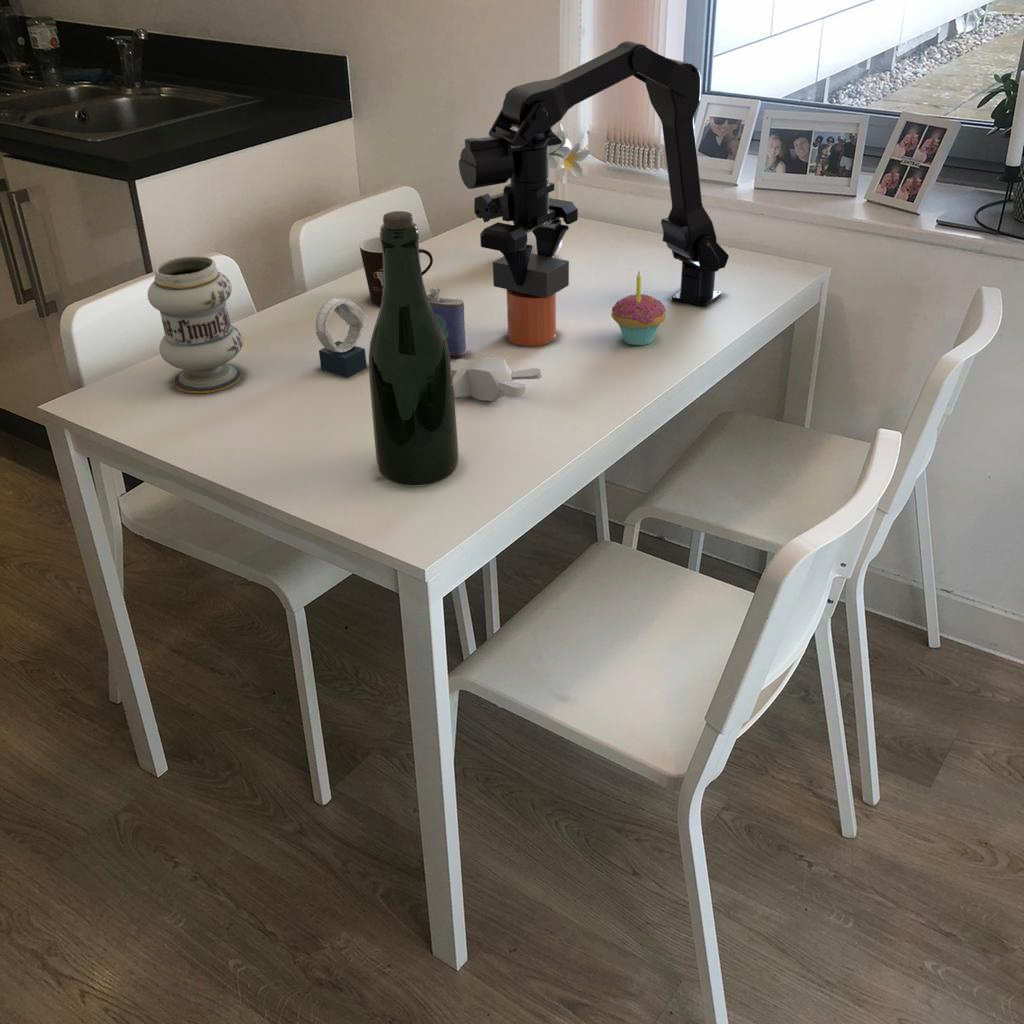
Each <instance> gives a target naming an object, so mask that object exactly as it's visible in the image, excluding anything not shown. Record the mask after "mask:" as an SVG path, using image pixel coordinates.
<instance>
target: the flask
mask: <svg viewBox="0 0 1024 1024" xmlns="http://www.w3.org/2000/svg"><path fill="white" fill-rule="evenodd" d="M441 291H442V290H441V288H440V287H439V286H436V287H435V288H434V287H432V288H430V289H428V292H429V294H427V297H428V300H429V302H430V305H431V307H432V309H433V311H434V313H435V316H436V318H437V320H438V322H439V324H440V326H441V328H442V330H443V333H444V335H445V337H446V341H447V345H448V348H449V352H450V359H464V357H466V355H467V343H466V342H467V341H466V327H465V324H466V323H465V302H464V301H463V300H462V299H458V298H447V297H445V298H444V297H440V292H441Z"/></svg>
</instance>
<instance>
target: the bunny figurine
mask: <svg viewBox="0 0 1024 1024" xmlns="http://www.w3.org/2000/svg"><path fill="white" fill-rule="evenodd" d="M451 368H452V377H453V388H454V399H456V398H461V397H468V396H471V397H472V398H474V399H476V400H479V401H491V402H495V401H496V400H498V398H499V397H500V396H502V395H503V394H507V395H508V396H510V397H513V398H519V397H523V396H524V395H525V393H526V387H527V386H526V384H525V383H522V382H518V381H517V380H539V379H542V378H543V374H542V371H541V369H540V368H538V367H533V368H526V369H520V370H515V371H514V370H513V371H512V369H510V367H509V365H508V363H507V361H506V360H505V359H504V358H501V357H497V356H496V357H494V356H488V357H487V356H486V357H482V358H478V359H474V360H466V359H465V358H457V359H456V360H454V361H453V362H451ZM514 380H515V381H514Z"/></svg>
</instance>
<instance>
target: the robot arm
mask: <svg viewBox="0 0 1024 1024" xmlns="http://www.w3.org/2000/svg"><path fill="white" fill-rule="evenodd" d="M700 72H701V71H700V70H699V68H698V67H696V66H695V65H693V64H692V63H689V62H685V61H682V60H677V59H673V58H669V57H666V56H664V55H661V54H659V53H657V52H656V51H654V50H652V49H650V48H649V47H648V46H647V45H645V44H643V43H639V42H634V41H630V40H626V41H622V42H621V43H619V44H618V45H617V46H616V47H614V48H612V49H610V50H608V51H606V52H605V53H602V54H601V55H599V56H596V57H594V58H593V59H590V60H588V61H586V62H585V63H582V64H581V65H578V66H577V67H575V68H573V69H571V70H569V71H567V72H565V73H563V74H561V75H559V76H557V77H554V78H550V79H543V80H536V81H531V82H527V83H523V84H520V85H516V86H514V87H512V88H511V89H509V90H508V91H507V92H506V93H505V97H504V100H503V103H502V107H501V110H500V111H499V113H498V115H497V117H496V119H495V121H494V122H493V123H492V126H491V128H490V129H489V131H488V136H485V137H479V138H478V137H470V138H465V139H464V147H463V148H462V150H461V151H460V155H459V159H458V171H459V175H460V177H461V180H462V183H463V184H464V186H465V187H466V188H467V189H469V190H473V189H478V188H484V187H489V186H497V185H501V184H505V183H507V182H508V181H509V180H510V183H509V184H506V185H505V186H504V187H503V190H502V191H503V192H500V193H498V194H494V195H492V196H491V194H489V193H485V194H483V195H479V196H476V197H474V203H473V208H474V211H473V212H474V215H475V216H476V218H478V219H482V221H483V223H488V222H490V220H494V219H499V218H501V220H502V221H504V222H509V223H510V222H512V223H513V224H509V223H503V222H497V221H496V223H493V224H491V225H489V226H487V227H485V228H484V229H483V230H482V231H481V232H480V233H479V239H480V240H479V241H480V247H481V248H484V249H489V250H494V251H498V252H500V253H501V254H502V255H503V256H504V257H505V259H506V261H507V263H508V266H509V268H510V271H511V273H512V276H513V279H514V281H515V284H516V285H518V286H522V285H523V283H524V279H525V276H526V272H527V268H528V264H529V259H530V255H531V251H532V247H533V246H532V245H527V244H526V243H527V233H529V232H531V231H532V232H533V234H534V235H535V237H536V245H537V255H542V256H547V257H552V258H553V257H554V258H555V254H556V253H555V252H556V250H557V248H558V246H559V244H560V242H561V240H562V241H563V239H564V237H565V235H566V232H567V231H568V230H569V229H570V226H569V225H571V224H573V223H575V222H577V221H578V220H579V215H578V214H579V209H578V207H577V206H576V204H575V203H574V202H573V201H570V200H564V199H558V198H552V197H550V193H551V192H553V191H555V183H554V182H550V177H549V176H550V173H549V171H550V170H549V169H550V167H549V158H548V146H553V145H559V144H561V143H562V140H561V139H560V138H559V137H558V136H556V135H555V132H554V131H552V129H551V127H552V126H553V127H554V126H555V125H556V124H558V123H559V122H560V121H561V120H562V119H563V118H564V117H565V115H566V114H567V112H568V111H569V110H570V109H572V108H573V107H574V106H576V105H578V104H579V103H582V102H583V101H586V100H587V99H589V98H592V97H594V96H595V95H597V94H599V93H601V92H603V91H606V90H607V89H609V88H610V87H614V86H615V85H617V84H619V83H621V82H622V81H625V80H627V79H629V78H631V77H634V78H635V79H637V80H639V81H640V82H643V83H644V84H645V88H646V90H647V94H648V98H649V101H650V104H651V106H652V108H653V110H654V111H655V113H656V115H657V116H658V118H659V119H660V122H661V127H662V135H663V144H664V151H665V159H666V167H667V168H666V169H667V175H668V183H669V193H670V199H671V209H670V212H669V214H668V216H667V217H665V218H662V219H661V221H660V225H661V228H662V234H663V235H662V242H663V243H666V246H667V248H668V249H669V250H671V253H672V256H673V259H675V260H678V261H680V262H681V274H680V290H678V292H676V293H675V294H673V295H672V296H671V299H672V300H674V301H679V302H683V303H688V304H692V305H697V306H701V307H706V306H708V305H709V304H711V303H712V302H714V301H715V300H716V299H717V298H719V297H721V296H722V292H721V291H718V290H715V282H716V272H719V270H720V269H725V268H726V266H727V263H728V260H729V257H730V256H729V254H728V253H727V252H726V250H724V248H722V246H721V245H720V244H719V243H718V242H717V240H718V237H717V234H716V231H715V227H714V224H713V220H712V219H711V216H710V215H709V213H708V211H707V210H706V208H705V207H704V204H703V200H702V199H703V197H702V189H701V180H700V170H699V161H698V152H697V142H696V131H695V123H694V122H695V121H694V117H695V114H696V112H697V110H698V106H699V105H700V102H701V91H702V90H701V89H702V88H701V86H702V77H701V73H700ZM512 126H514V127H516V128H518V129H519V130H518V131H517V132H516V131H513V130H511V129H510V128H511V127H512ZM561 219H563V222H564V223H565V224H562V220H561Z"/></svg>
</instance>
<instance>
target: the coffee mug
mask: <svg viewBox="0 0 1024 1024" xmlns="http://www.w3.org/2000/svg"><path fill="white" fill-rule="evenodd" d="M358 247H359V251H360V256H361V260H362V264H363V265H362V266H363V270H364V274H365V278H366V284H367V287H368V293H369V296H370V301H371V303H372V304H373V305H375V306H379V307H380V306H381V300H382V294H383V255H382V244H381V241H380V236H374V237H370V238H367V239H364V240H362V241H361V242H360V243H359V245H358ZM419 254H424V255H426V256H427V257H428V258H429V264H428V266H427V267H426V268H425V269H424V270H421V271H422V277H423V276H425V274H426V273H427V272H428V271H429V270H430V269H431V267H432V266H433V262H434V259H433V255H432V253H431V252H430V251H429V250H427V249H423V248H419Z"/></svg>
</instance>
